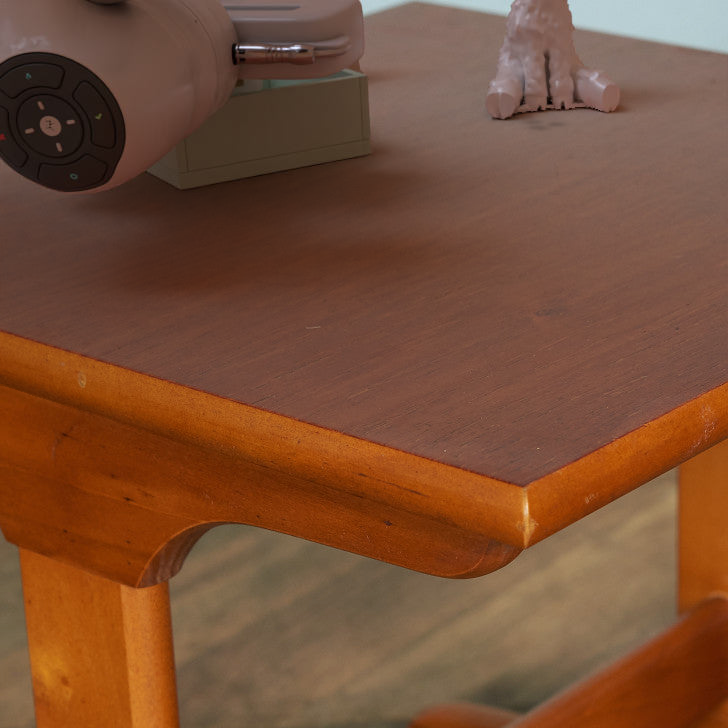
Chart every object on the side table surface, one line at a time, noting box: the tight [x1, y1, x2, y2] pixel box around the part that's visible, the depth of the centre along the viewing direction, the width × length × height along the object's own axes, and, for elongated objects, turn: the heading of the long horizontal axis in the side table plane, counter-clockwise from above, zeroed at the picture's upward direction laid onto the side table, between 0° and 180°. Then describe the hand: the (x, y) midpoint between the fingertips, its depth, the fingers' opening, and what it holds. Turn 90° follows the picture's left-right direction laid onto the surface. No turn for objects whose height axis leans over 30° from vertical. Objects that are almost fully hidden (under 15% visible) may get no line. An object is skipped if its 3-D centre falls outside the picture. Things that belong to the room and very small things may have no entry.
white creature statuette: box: [485, 0, 621, 120], centre depth 115 cm, size 10×9×12 cm
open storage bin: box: [144, 68, 372, 190], centre depth 107 cm, size 13×13×5 cm
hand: (224, 9), depth 104 cm, fingers closed on pill bottle, 4 cm apart
